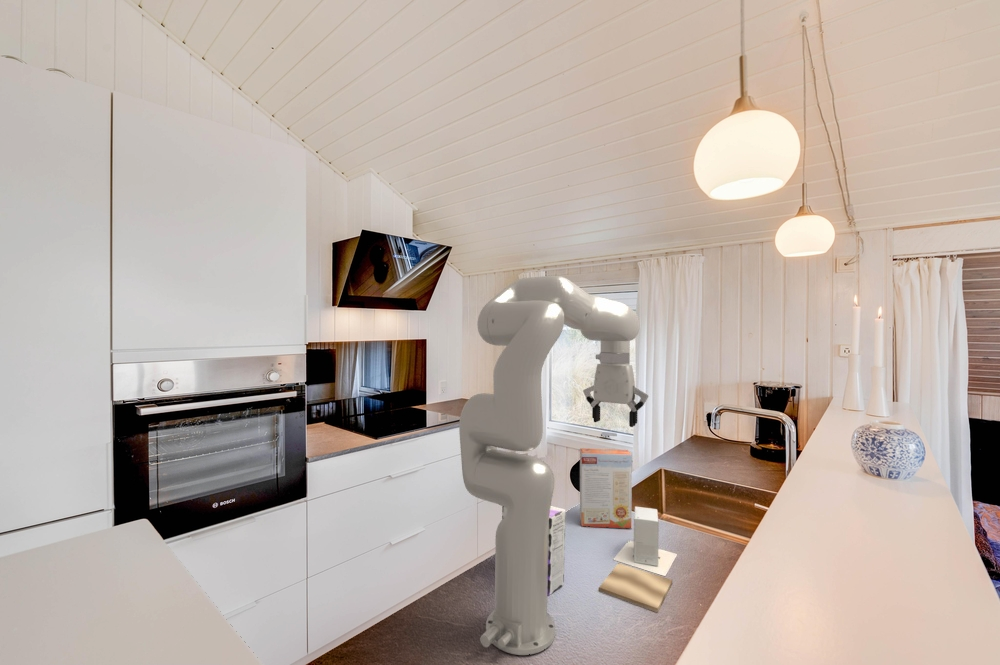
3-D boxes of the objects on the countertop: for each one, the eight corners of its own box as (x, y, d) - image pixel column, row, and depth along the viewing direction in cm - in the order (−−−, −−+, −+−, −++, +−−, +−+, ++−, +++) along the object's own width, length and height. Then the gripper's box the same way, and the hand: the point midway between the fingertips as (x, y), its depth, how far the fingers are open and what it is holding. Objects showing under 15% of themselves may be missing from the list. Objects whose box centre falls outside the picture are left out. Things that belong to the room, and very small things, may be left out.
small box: (658, 567, 100) (658, 521, 100) (633, 562, 102) (633, 518, 102) (657, 550, 108) (658, 508, 108) (634, 547, 109) (634, 505, 109)
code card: (665, 576, 96) (665, 576, 96) (613, 560, 103) (613, 559, 103) (677, 554, 106) (677, 553, 106) (629, 540, 113) (629, 540, 113)
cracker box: (627, 520, 125) (628, 448, 125) (631, 530, 119) (632, 454, 120) (578, 518, 127) (579, 447, 127) (580, 527, 121) (581, 452, 121)
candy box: (499, 571, 98) (500, 498, 98) (516, 561, 102) (517, 491, 102) (549, 597, 88) (550, 516, 88) (565, 585, 93) (566, 508, 93)
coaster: (657, 612, 84) (657, 608, 84) (598, 591, 91) (599, 587, 91) (672, 583, 94) (672, 580, 94) (618, 566, 100) (618, 562, 100)
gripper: (578, 358, 116) (578, 422, 116) (644, 361, 106) (643, 430, 106) (589, 357, 122) (588, 417, 122) (652, 360, 113) (651, 425, 113)
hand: (614, 423), depth 114 cm, fingers open, 9 cm apart
